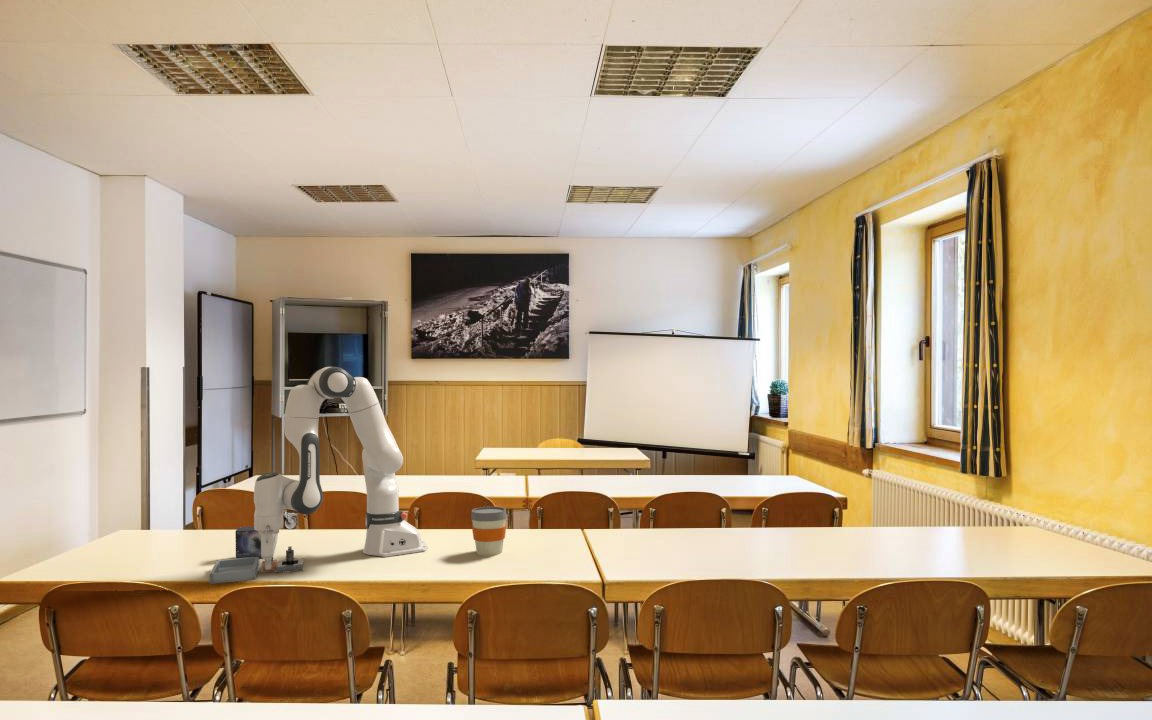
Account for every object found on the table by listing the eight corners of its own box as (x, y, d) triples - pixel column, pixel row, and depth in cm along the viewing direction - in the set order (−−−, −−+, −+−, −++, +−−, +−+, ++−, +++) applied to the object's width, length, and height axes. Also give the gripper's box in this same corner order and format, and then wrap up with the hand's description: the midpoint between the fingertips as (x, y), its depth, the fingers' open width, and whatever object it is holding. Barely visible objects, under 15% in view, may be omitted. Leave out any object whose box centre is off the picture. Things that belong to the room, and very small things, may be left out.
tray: (259, 565, 253) (259, 556, 253) (255, 579, 237) (255, 569, 237) (217, 569, 249) (216, 560, 249) (209, 583, 232) (209, 574, 232)
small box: (235, 561, 259) (234, 530, 259) (238, 556, 266) (237, 526, 266) (267, 558, 262) (267, 528, 262) (270, 554, 268) (269, 524, 268)
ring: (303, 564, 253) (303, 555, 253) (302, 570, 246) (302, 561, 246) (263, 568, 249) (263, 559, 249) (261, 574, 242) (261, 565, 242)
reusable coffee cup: (501, 557, 257) (500, 513, 258) (466, 556, 260) (465, 513, 260) (511, 548, 270) (511, 506, 270) (478, 547, 272) (477, 506, 272)
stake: (294, 567, 250) (293, 546, 250) (293, 569, 247) (293, 548, 247) (286, 567, 249) (286, 546, 249) (286, 570, 246) (285, 548, 246)
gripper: (277, 528, 237) (278, 572, 237) (280, 516, 257) (281, 556, 257) (255, 530, 235) (256, 574, 235) (260, 518, 255) (261, 558, 255)
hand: (269, 565), depth 246 cm, fingers open, 8 cm apart
